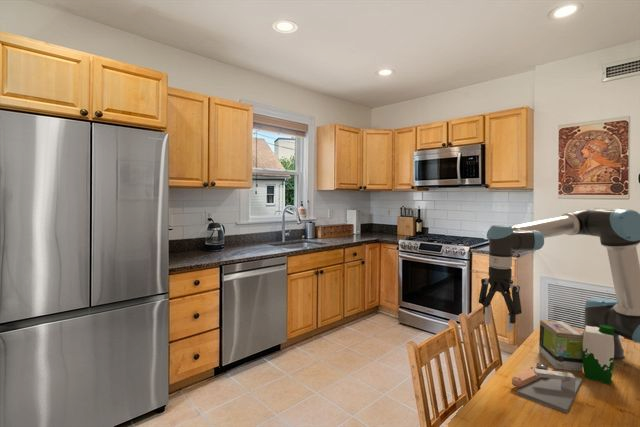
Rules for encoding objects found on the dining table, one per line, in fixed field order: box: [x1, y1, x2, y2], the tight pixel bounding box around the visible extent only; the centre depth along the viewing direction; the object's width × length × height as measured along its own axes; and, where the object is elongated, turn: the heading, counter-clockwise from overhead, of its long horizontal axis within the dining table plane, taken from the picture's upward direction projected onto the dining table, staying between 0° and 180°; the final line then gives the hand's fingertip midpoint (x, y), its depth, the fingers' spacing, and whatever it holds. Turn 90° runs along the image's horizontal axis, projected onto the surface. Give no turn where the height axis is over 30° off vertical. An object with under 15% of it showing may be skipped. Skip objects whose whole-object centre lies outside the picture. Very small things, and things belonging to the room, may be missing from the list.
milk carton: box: [582, 325, 615, 386], centre depth 124 cm, size 9×9×20 cm
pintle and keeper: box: [534, 362, 575, 392], centre depth 118 cm, size 13×14×5 cm
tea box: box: [538, 319, 584, 372], centre depth 137 cm, size 15×10×15 cm, turn 168°
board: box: [516, 369, 583, 414], centre depth 118 cm, size 26×14×1 cm, turn 134°
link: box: [511, 364, 554, 388], centre depth 121 cm, size 20×5×2 cm, turn 119°
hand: (498, 327), depth 124 cm, fingers open, 8 cm apart
